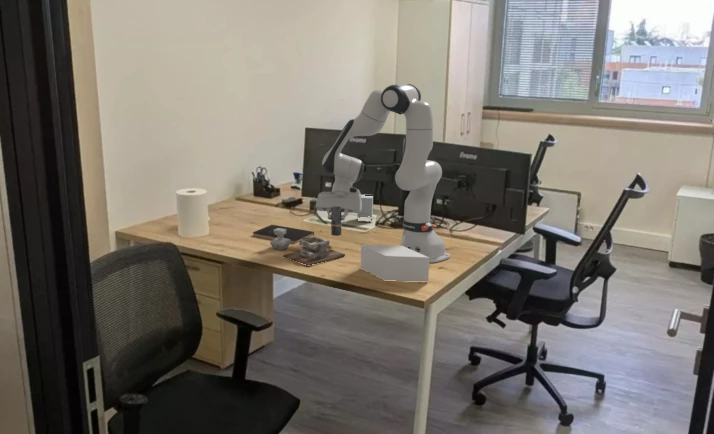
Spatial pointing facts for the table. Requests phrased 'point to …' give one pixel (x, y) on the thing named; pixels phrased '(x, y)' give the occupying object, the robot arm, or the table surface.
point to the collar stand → (313, 251)
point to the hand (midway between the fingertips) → (335, 219)
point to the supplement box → (366, 206)
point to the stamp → (280, 239)
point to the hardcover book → (290, 234)
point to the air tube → (336, 221)
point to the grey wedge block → (394, 263)
